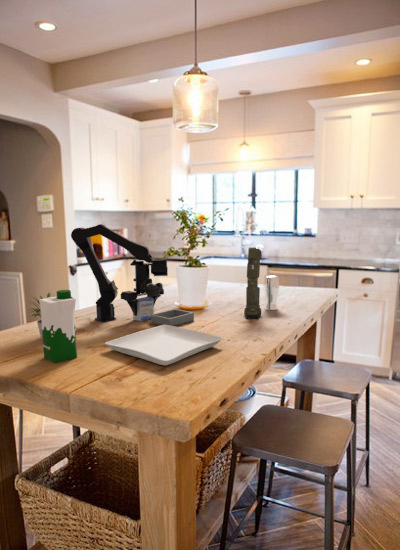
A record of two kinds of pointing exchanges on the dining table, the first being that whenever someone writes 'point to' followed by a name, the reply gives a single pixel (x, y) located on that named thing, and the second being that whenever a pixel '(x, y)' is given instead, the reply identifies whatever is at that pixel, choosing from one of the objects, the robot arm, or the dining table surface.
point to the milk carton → (58, 327)
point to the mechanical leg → (253, 285)
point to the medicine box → (144, 309)
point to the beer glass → (271, 291)
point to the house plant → (39, 314)
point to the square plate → (164, 344)
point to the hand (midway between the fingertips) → (143, 313)
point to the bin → (172, 317)
